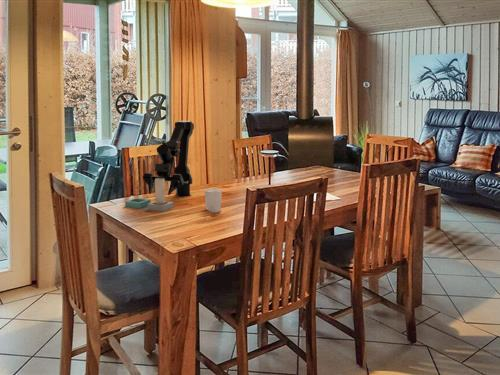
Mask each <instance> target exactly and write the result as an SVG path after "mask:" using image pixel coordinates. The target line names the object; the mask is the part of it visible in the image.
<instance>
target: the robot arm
mask: <svg viewBox="0 0 500 375" xmlns="http://www.w3.org/2000/svg"><path fill="white" fill-rule="evenodd" d="M194 129H195V124H194V123H193V121H192V120H178V121H175V123H174V128H173V131H172V134H171V136H170V138H169V140H168V141H166V142H162V144H160V145H159V146H158V147H157V148H156V152H157V155H158V158H159V159H160V160H161V163H155V164H154V171H155V172H156V175H154V174H153V173H152V172H144V173H143V174H142V179H143V181H144V182H145V184H147V186H148V194H149V195H151V193H152V192H153V189H154V187H155V179H156V178H164V179H165V182H170V185H169V188H168V192H167V195H168V196H170V195H171V194H172V193H173V192H174V191H175V194H176V195H177V196H178V197H188V196H192V195H191V188H190V187H191V185H193V177H192V174H191V170H190V168H189V166H188V158H189V144H190V138H191V136H192V135H193V132H194ZM175 157H176V158H178V162H177V163H178V164H177V165H176V162H175V161H176V160H175ZM174 165H176V166H175V167H174ZM173 168H174V172H173ZM171 175H172V176H171Z"/></svg>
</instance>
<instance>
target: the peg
mask: <svg viewBox="0 0 500 375" xmlns="http://www.w3.org/2000/svg"><path fill="white" fill-rule="evenodd" d="M165 182H166V181H165V179H164V178H156V179H155V181H154V189H155V190H154V192H155V198H154V199H155V201H156V204H157V205H164V204H165V201H166V188H165V187H166V184H165Z"/></svg>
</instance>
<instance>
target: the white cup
mask: <svg viewBox="0 0 500 375" xmlns="http://www.w3.org/2000/svg"><path fill="white" fill-rule="evenodd" d="M222 190H223V189H221V188H216V187H215V188H207V189H206V188H205V189H204V199H205V200H204V202H205V209H206V211H208V212H210V213H212V214H213V213H221V208H222V192H223V191H222Z"/></svg>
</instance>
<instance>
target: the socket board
mask: <svg viewBox="0 0 500 375" xmlns="http://www.w3.org/2000/svg"><path fill="white" fill-rule="evenodd" d="M124 203H125V204H124V206H123V208H127V209H135V210H143V211H151V212H156V213H157V212H158V213H164V212H167V211H168V210H169V211H170V210H171V209H173V208H175V206H174V202H173V201H166V200H165V204H164V205H157V204H156V200H155V201H152V202H151V199H149V198H140V197H135V198H134V197H133V198H132V199H128V200H125V201H124Z"/></svg>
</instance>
